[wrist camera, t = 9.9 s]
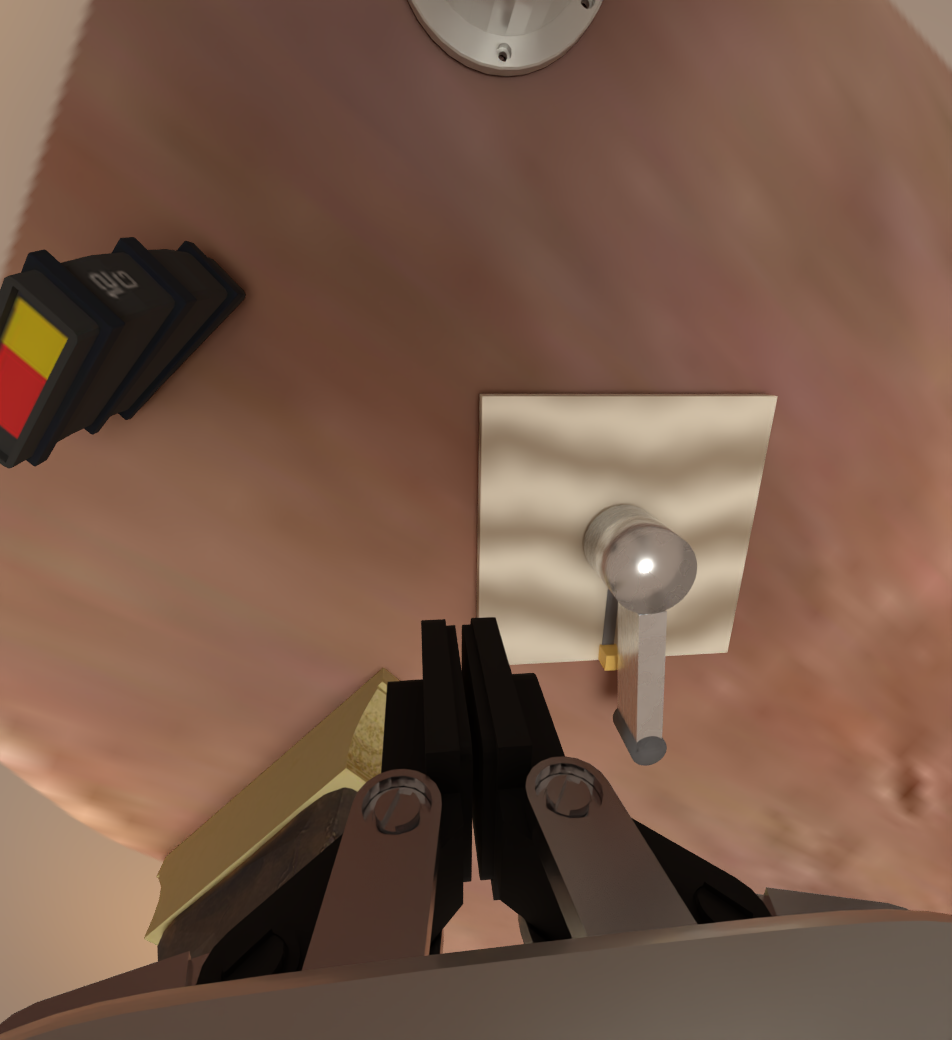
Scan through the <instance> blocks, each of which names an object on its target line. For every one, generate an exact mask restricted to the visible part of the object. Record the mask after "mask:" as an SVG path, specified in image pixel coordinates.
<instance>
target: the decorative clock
mask: <svg viewBox="0 0 952 1040" xmlns="http://www.w3.org/2000/svg"><path fill="white" fill-rule="evenodd" d="M390 681H399V680H398V679H397V678H396V677H395V676H393V675H392V674H391V673H390V672H388V671H387V670H386V669H385V668H382V669H381V670H380V671H379V672H378V673H377V674H376V675H374V676H373V677H372V678H371V679H370V680H369V681H368V682H366V683H365V684H364V685H363V686H362V687H361V688H359V689H358V690H357V691H356V692H355V693H354V694H353V695H351V696H350V697H349V698H348V699H347V700H346V701H345V702H343V703H342V704H341V705H340V706H339V707H338V708H336V709H335V710H334V711H333V712H332V713H331V714H330V715H328V716H327V717H326V718H325V719H324V720H323V721H322V722H320V723H319V724H318V725H317V726H316V727H315V728H313V729H312V730H311V731H310V732H309V733H308V734H307V735H305V736H304V737H303V738H302V739H301V740H300V741H299V742H297V743H296V744H295V745H294V746H293V747H292V748H290V749H289V750H288V751H287V752H286V753H285V754H284V755H282V756H281V757H280V758H279V759H278V760H277V761H276V762H274V763H273V764H272V765H271V766H270V767H269V768H267V769H266V770H265V771H264V772H263V773H262V774H261V775H259V776H258V777H257V778H256V779H255V780H254V781H253V782H251V783H250V784H249V785H248V786H247V787H246V788H244V789H243V790H242V791H241V792H240V793H239V794H238V795H236V796H235V797H234V798H233V799H232V800H231V801H230V802H228V803H227V804H226V805H225V806H224V807H223V808H221V809H220V810H219V811H218V812H217V813H216V814H215V815H213V816H212V817H211V818H210V819H209V820H208V821H207V822H205V823H204V824H203V825H202V826H201V827H200V828H198V829H197V830H196V831H195V832H194V833H193V834H192V835H190V836H189V837H188V838H187V839H186V840H185V841H184V842H182V843H181V844H180V845H179V846H178V847H177V848H175V849H174V850H173V851H172V852H171V853H170V854H169V855H167V856H166V857H165V859H164V862H163V864H162V866H161V868H160V870H159V873H158V875H157V878H159V881H160V884H161V891H160V897H159V902H158V905H157V907H156V910H155V913H154V916H153V919H152V921H151V924H150V926H149V928H148V930H147V933H146V935H145V937H144V939H145V940H147V941H150V942H152V943H154V944H156V945H158V961H161V960H164V959H167V958H170V957H173V956H176V955H179V954H182V953H185V952H188V951H189V952H190V956H191V959H193V958H196V957H199V956H202V955H204V954H207V953H210V952H211V950H212V949H213V947H214V946H215V945H216V944H217V943H218V942H219V941H220V940H221V939H222V938H223V937H224V936H225V935H226V934H227V933H228V932H229V931H230V930H231V929H232V928H233V927H234V926H236V925H237V924H238V923H239V922H240V921H241V920H243V919H244V918H245V917H246V916H247V915H248V914H250V913H251V912H252V911H253V910H254V909H255V908H257V907H258V906H259V905H260V904H261V903H262V902H264V901H265V900H266V899H267V898H268V897H269V896H271V895H272V894H273V893H274V892H275V891H276V890H278V889H279V888H280V887H281V886H282V885H283V884H285V883H286V882H287V881H288V880H289V879H290V878H292V877H293V876H294V875H295V874H296V873H297V872H299V871H300V870H301V869H302V868H303V867H304V866H306V865H307V864H308V863H309V862H310V861H311V860H313V859H314V858H315V857H316V856H317V855H318V854H320V853H321V852H322V851H323V850H324V849H325V848H327V847H328V846H329V845H330V844H331V843H332V842H334V841H335V840H336V839H337V838H338V837H339V836H340V835H342V834H343V833H344V829H345V826H346V823H347V819H348V816H349V813H350V810H351V806H352V803H353V800H354V798H355V796H356V794H357V792H358V790H359V789H360V788H361V787H362V786H363V785H364V784H365V783H366V782H367V781H368V780H370V779H372V778H373V777H375V776H376V775H378V774H380V773H381V766H382V751H383V737H384V722H385V708H386V693H387V683H388V682H390Z"/></svg>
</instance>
